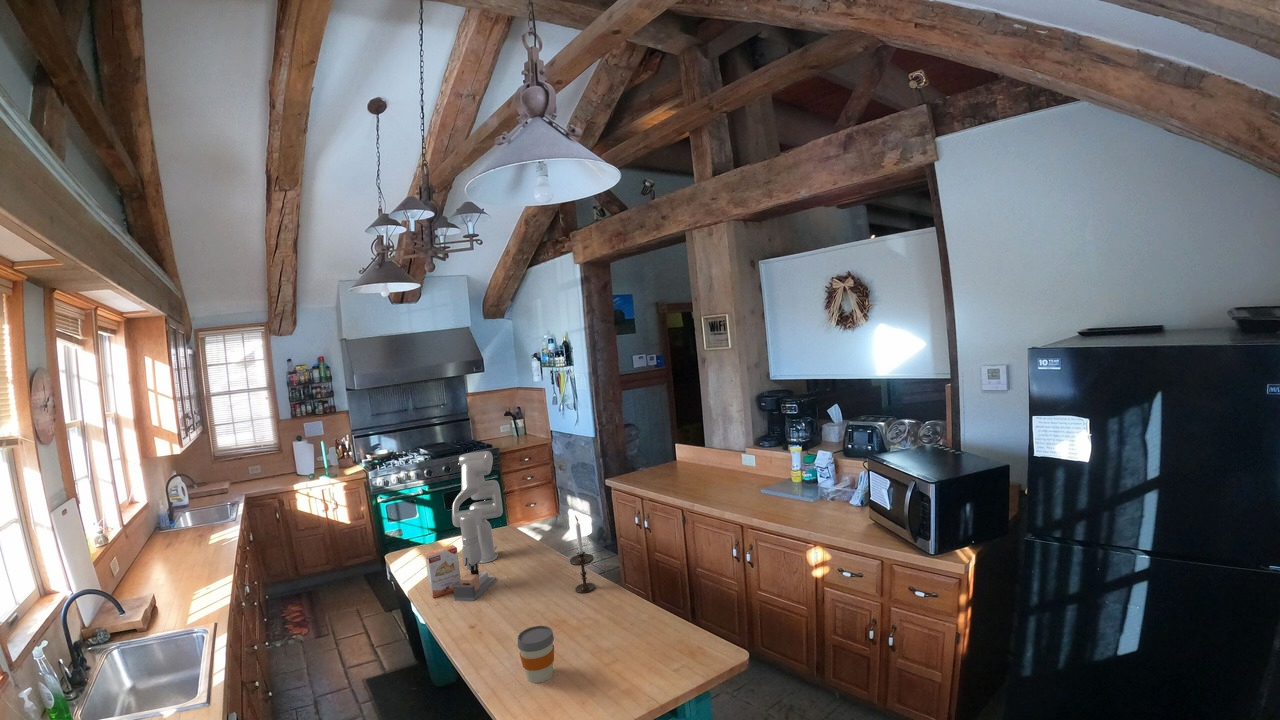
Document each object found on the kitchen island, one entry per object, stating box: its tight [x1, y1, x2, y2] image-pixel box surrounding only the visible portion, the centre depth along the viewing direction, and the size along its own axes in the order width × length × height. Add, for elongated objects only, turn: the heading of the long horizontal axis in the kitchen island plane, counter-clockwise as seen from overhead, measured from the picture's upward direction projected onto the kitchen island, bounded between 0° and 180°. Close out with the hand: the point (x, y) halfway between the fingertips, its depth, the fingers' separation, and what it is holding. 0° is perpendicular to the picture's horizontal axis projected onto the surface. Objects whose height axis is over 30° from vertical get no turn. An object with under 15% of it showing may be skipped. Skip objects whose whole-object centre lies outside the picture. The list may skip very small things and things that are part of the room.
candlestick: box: [569, 515, 596, 595], centre depth 279 cm, size 11×11×35 cm
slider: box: [460, 573, 480, 592], centre depth 288 cm, size 6×6×7 cm
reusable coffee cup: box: [517, 625, 555, 684], centre depth 213 cm, size 13×13×15 cm
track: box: [453, 571, 498, 602], centre depth 292 cm, size 22×10×6 cm, turn 165°
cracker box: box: [424, 544, 462, 599], centre depth 293 cm, size 14×6×21 cm, turn 125°
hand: (475, 577), depth 292 cm, fingers closed
